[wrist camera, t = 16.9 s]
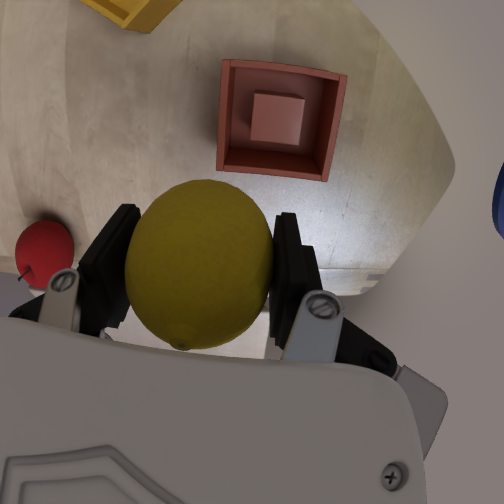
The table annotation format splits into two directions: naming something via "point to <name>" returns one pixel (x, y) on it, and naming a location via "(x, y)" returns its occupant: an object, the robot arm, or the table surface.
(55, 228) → the apple
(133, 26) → the yellow bin
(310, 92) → the clay bin
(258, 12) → the table surface
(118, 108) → the table surface
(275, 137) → the clay block
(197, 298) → the lemon
